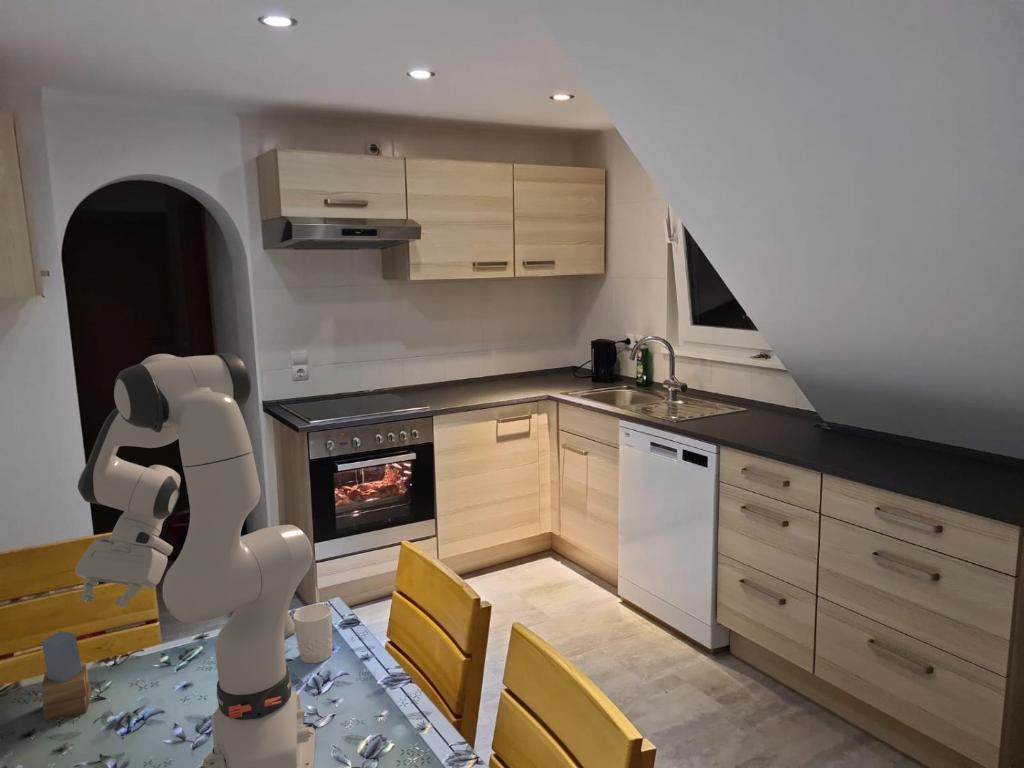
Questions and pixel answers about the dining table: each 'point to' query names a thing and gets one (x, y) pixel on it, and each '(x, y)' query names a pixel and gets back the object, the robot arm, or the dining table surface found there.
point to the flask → (289, 626)
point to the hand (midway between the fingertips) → (102, 604)
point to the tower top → (65, 688)
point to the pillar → (61, 656)
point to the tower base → (67, 707)
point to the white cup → (314, 632)
